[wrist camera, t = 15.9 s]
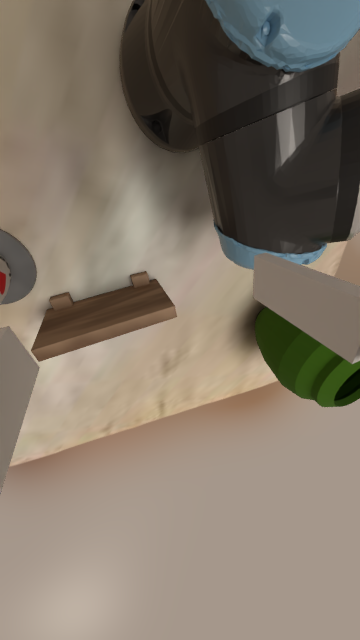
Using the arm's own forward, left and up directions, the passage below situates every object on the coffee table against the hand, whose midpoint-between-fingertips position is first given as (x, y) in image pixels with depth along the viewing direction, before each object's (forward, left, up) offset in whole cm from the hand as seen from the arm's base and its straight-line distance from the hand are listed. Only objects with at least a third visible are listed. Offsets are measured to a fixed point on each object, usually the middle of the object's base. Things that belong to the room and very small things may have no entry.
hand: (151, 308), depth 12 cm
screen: (+11, -5, -29) cm, 31 cm away
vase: (+29, +32, -29) cm, 52 cm away
